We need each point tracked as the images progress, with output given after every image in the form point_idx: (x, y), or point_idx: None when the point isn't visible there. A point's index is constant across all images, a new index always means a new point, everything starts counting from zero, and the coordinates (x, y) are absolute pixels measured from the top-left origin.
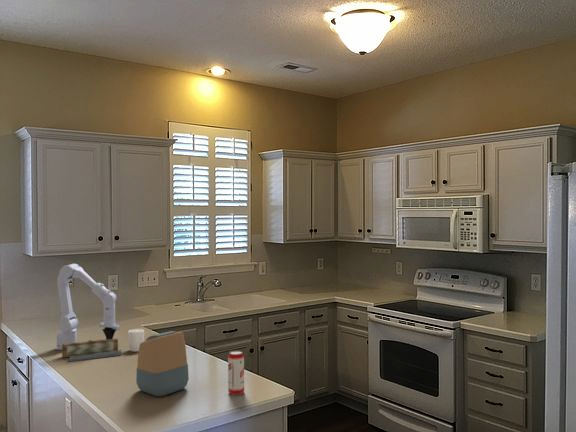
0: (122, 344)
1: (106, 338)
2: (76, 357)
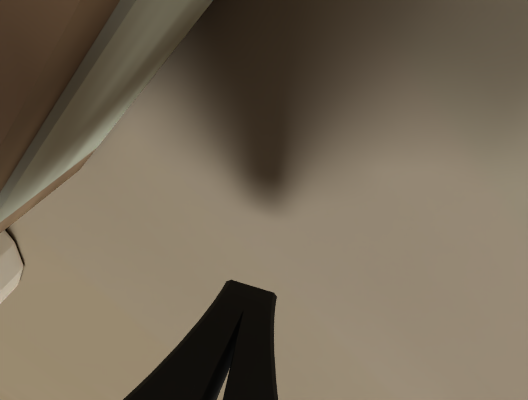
0: None
1: (260, 353)
2: None
